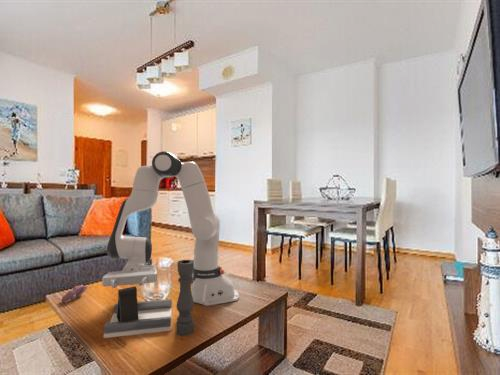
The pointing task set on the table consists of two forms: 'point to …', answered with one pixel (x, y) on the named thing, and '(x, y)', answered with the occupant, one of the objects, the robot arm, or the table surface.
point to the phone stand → (127, 304)
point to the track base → (143, 315)
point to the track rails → (141, 323)
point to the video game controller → (74, 293)
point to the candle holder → (185, 299)
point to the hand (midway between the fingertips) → (127, 284)
